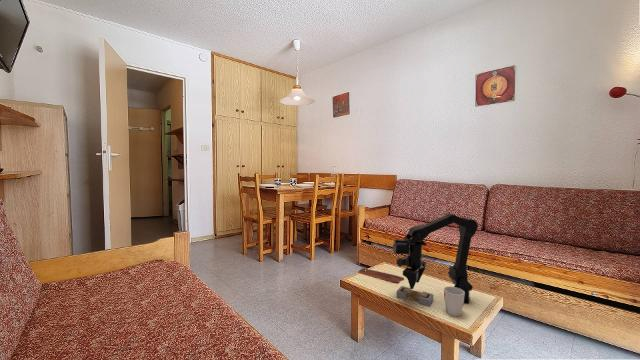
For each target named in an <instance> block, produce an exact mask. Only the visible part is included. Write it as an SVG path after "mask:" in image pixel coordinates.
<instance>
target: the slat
mask: <svg viewBox="0 0 640 360" xmlns="http://www.w3.org/2000/svg"><path fill="white" fill-rule="evenodd" d="M403 292H406V293H407V299H408V300H411V301H415V302H418V303H419V297H424V298H428V294H426V293H423V291H422V292H421V291H418V290H413V289H411V290H410V289H406V288H404V290H403ZM407 299H406V300H407Z"/></svg>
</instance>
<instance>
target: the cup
mask: <svg viewBox="0 0 640 360" xmlns="http://www.w3.org/2000/svg"><path fill="white" fill-rule="evenodd" d="M464 295H465V292H464V291H463V290H462V289H459V288H456V287H454V286H444V287H443V299H444V305H445V309H446V312H447V314H448V315H450V316H453V317H460V315H461V312H462V311H463V306H464Z"/></svg>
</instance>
